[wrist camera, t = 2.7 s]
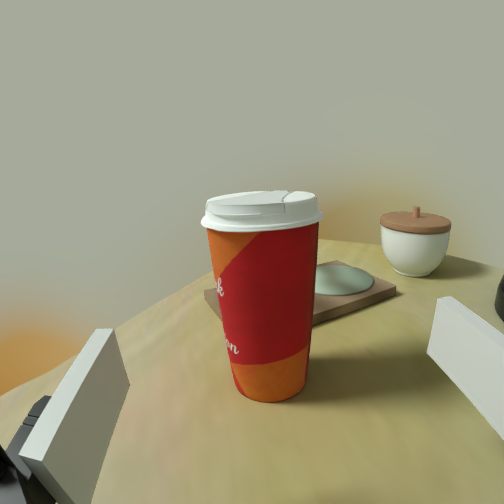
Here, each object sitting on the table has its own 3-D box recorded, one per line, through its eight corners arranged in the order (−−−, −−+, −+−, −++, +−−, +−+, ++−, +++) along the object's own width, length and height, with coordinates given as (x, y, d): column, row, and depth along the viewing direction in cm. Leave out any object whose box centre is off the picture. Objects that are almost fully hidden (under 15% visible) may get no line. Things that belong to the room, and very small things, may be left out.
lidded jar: (419, 255, 49) (423, 200, 47) (459, 277, 39) (466, 212, 36) (366, 262, 48) (367, 202, 45) (402, 288, 38) (407, 215, 35)
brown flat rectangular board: (336, 268, 47) (336, 258, 46) (395, 294, 36) (396, 283, 36) (204, 299, 39) (203, 288, 39) (242, 346, 29) (241, 333, 28)
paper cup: (251, 344, 29) (240, 189, 25) (332, 362, 25) (337, 190, 21) (200, 394, 22) (171, 206, 18) (295, 426, 19) (294, 208, 15)
